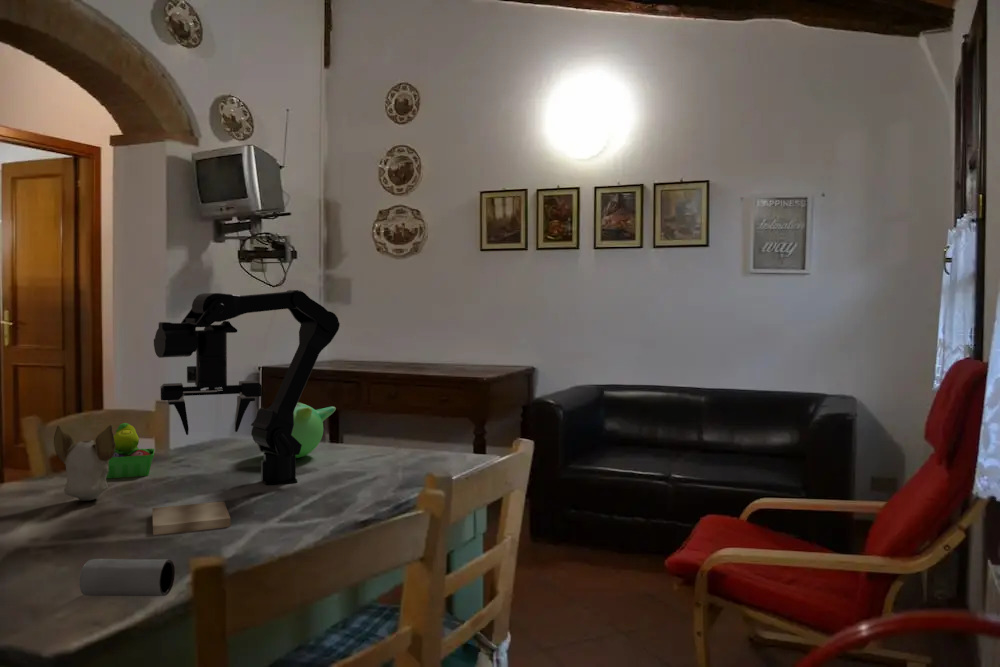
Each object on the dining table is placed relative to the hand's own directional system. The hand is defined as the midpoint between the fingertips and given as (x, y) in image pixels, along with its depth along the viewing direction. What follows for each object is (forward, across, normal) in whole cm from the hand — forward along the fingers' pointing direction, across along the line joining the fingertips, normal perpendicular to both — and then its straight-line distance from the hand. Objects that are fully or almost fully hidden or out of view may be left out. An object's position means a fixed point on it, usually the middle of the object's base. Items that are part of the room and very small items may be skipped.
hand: (211, 433), depth 150 cm
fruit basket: (+12, +16, -23) cm, 31 cm away
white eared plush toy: (+12, +22, -1) cm, 25 cm away
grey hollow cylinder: (+10, +19, +50) cm, 54 cm away
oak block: (+13, +5, +20) cm, 24 cm away
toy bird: (+12, -21, -28) cm, 37 cm away
